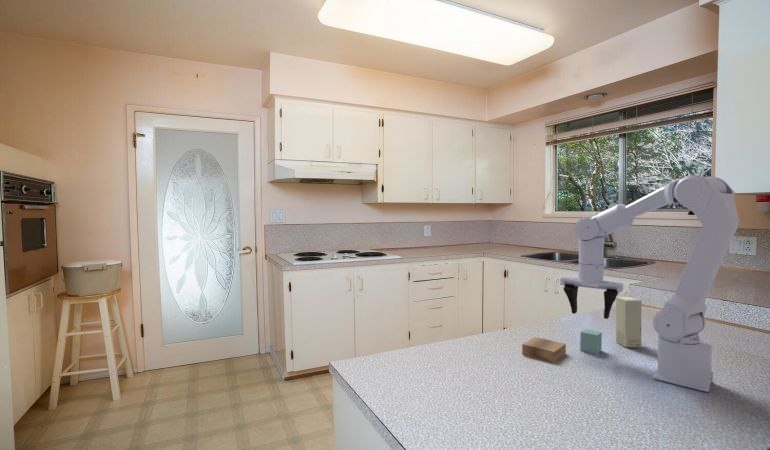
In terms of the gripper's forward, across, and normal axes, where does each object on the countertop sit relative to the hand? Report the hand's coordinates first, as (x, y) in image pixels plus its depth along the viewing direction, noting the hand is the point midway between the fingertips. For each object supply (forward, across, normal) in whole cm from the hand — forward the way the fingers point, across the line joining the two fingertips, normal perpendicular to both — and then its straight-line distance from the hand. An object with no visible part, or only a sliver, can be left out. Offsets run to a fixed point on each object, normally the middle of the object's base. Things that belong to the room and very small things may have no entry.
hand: (590, 315), depth 102 cm
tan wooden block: (+10, +8, +10) cm, 16 cm away
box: (+10, -7, -12) cm, 17 cm away
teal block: (+9, 0, 0) cm, 9 cm away
